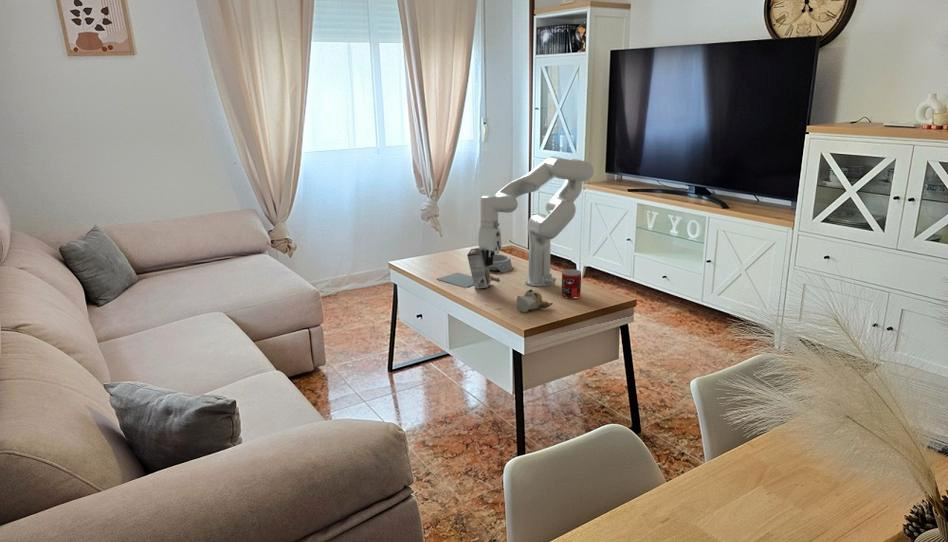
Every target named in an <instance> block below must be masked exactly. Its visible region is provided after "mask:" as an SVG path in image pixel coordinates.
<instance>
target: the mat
mask: <svg viewBox="0 0 948 542" xmlns="http://www.w3.org/2000/svg"><path fill="white" fill-rule="evenodd" d="M436 280H437V281H441V282H445V283H448V284H451V285H455V286H457V287H460V288H464V289H466V288H469V287H471V286H472V287H474V283H473V278H472V275H469V274H467V273H466V274H465V273H462V272H455V273H451V274H447V275H444V276H442V277H438V278H436Z"/></svg>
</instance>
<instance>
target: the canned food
mask: <svg viewBox="0 0 948 542" xmlns="http://www.w3.org/2000/svg"><path fill="white" fill-rule="evenodd" d="M561 272H562V273H561V297H562V296H563V297H567V298H574V297H579V296H580V297H581V291H582V290H581V289H582V271H581V270H579V269H572V268H571V269H570V268H569V269H563V270H562V271H561ZM563 297H562V298H563ZM580 297H579V298H580Z"/></svg>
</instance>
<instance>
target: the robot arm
mask: <svg viewBox="0 0 948 542" xmlns="http://www.w3.org/2000/svg"><path fill="white" fill-rule="evenodd" d="M594 173H595V170H594V166H593V165H592V163H591V162H589V161H587V160H582V159H577V158H573V159H572V158H571V159H566V158H563V157H560V156H559V157H557V156H549V157H547V158H546V159H544V160H543V161H541V162H540V163H539V164H538V165H537V166H535V167H534V168H532V170H530V171H529V172H528V173H526V174H525V175H523V176H520V177H519V178H517V179H515V180H513V181H510V182H509V183H507V184H506V185H505V186H504V187H502V188H501V189H500V190H499V191H497V193H495V194H494V195H493V194H484V195H482V196H481V198H480V226H479V229H478V239H477V241H478V242H477V243H478V248H479V249H480V250H483V253H484V256H486V257H485V265H486V266H490V265H493V256H494V255H495V254H500V251H501V249H502V234H501V232H502V231H501V229H500V223H499V213H505V214H506V213H508V214H509V213H510V214H511V213H513V212H514V211H516V210H517V208H518V206H519V205H518V203H519V202H518V200H517V199H518V198H519V197H521V196H522V195H526V194H531V193H534V192H538V191H539V190H540V189H542V188H543V187H545V185H546V184H548V183H549V182H551V181H552V180H553V179H554V178H557V179H561V180H564V181H563V182H564V183H563V184H562V185H561V187H560V188H559V189H558V190H557V191H556V192H555V194H554V195H553V196H552V197H551V198H549V200H548V202H546V204H545V210H546V213H547V214H548V215H546V214H543V213H536V214H533V215H531V216H530V218H529V219H528V221H527V233H528V244H529V245H528V277H526V278H525V280H524V281H525V284H526V285H528V286H531V287H538V288H539V287H548V286H551V285H553V284H555V283H556V281H557V278H556V277H553V274H552V273H551V245H552V244H551V240H553V239H555V238H556V237H557V236H559V234H560V233H561V232H562V231H563V230H564V229H565V228H566V227H567V226H568V224H570V222H572V219H574V217H575V214H576V209H577V208H576V205H575V203H574V202H575V201H576V200H577V199H578V197H579V196H580V194H581V193H582V190H583V182H587V181H589V180H590V179H591V178H593V176H594Z"/></svg>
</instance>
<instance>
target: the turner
mask: <svg viewBox="0 0 948 542" xmlns="http://www.w3.org/2000/svg"><path fill="white" fill-rule="evenodd" d="M490 276H491V281H496V282H498V281H500V277H499V276H494V275H491V274H490Z"/></svg>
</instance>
